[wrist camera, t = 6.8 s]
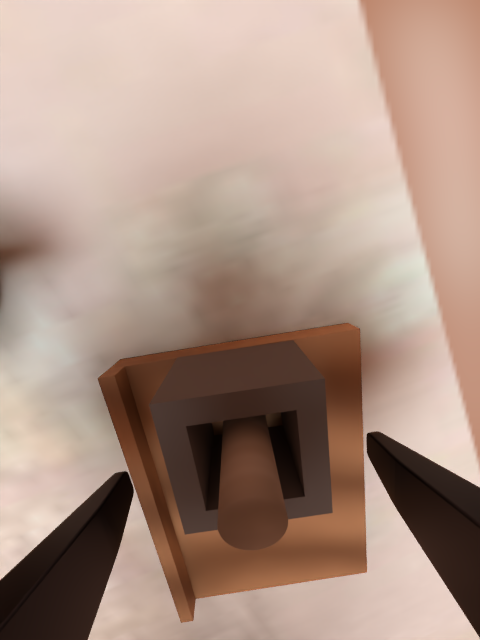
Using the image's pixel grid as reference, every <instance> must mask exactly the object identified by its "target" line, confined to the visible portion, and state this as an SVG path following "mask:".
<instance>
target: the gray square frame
mask: <svg viewBox="0 0 480 640" xmlns="http://www.w3.org/2000/svg"><path fill="white" fill-rule="evenodd" d="M149 407H150V410H151V414H152V418H153V421H154V425H155V428H156V432H157V436H158V439H159V443H160V447H161V450H162V454H163V457H164V461H165V465H166V468H167V472H168V476H169V479H170V483H171V486H172V490H173V494H174V497H175V501H176V504H177V508H178V512H179V515H180V519H181V523H182V526H183V530H184V533H185V535H186V534H193V533H200V532H207V531H213V530H218V527H217V523H218V506H219V489H220V471H221V454H222V437H223V434H220V435H214V432H213V427H212V422H219V421H225V420H232V419H239V418H246V417H252V416H259V415H266V414H273V413H279V412H281V417H282V425H281V426H274V427H268V430H269V435H270V439H271V444H272V448H273V453H274V458H275V462H276V467H277V471H278V476H279V480H280V485H281V489H282V494H283V498H284V503H285V508H286V512H287V517H288V519H295V518H302V517H308V516H315V515H322V514H329V513H333V508H332V491H331V474H330V457H329V440H328V423H327V406H326V389H325V378H324V377H323V376H322V374H321V373H320V372H319V371H318V370H317V368H316V367H315V366H314V365H313V363H312V362H311V361H310V360H309V359H308V357H307V356H306V355H305V354H304V353H303V351H302V350H301V349H300V348H299V346H298V345H297V344H296V343H295V342H294V340H291V341H284V342H277V343H271V344H264V345H257V346H250V347H244V348H237V349H230V350H224V351H217V352H210V353H203V354H197V355H190V356H183V357H177V359H176V360H175V362H174V364H173V365H172V367H171V369H170V370H169V372H168V374H167V375H166V377H165V379H164V380H163V382H162V384H161V385H160V387H159V389H158V390H157V392H156V394H155V395H154V397H153V399H152V400H151V402H150V404H149Z"/></svg>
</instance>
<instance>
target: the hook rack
mask: <svg viewBox="0 0 480 640" xmlns="http://www.w3.org/2000/svg"><path fill="white" fill-rule="evenodd" d="M291 340H294V342H295V343H296V344H297V345H298V346H299V348H300V349H301V350H302V351H303V353H304V354H305V355H306V356H307V357H308V359H309V360H310V361H311V362H312V363H313V365H314V366H315V367H316V368H317V370H318V371H319V372H320V373H321V374H322V376H323V377H324V378H325V389H326V406H327V423H328V440H329V457H330V474H331V491H332V508H333V513H329V514H322V515H315V516H308V517H302V518H295V519H288V517H287V512H286V508H285V503H284V498H283V494H282V489H281V485H280V480H279V476H278V471H277V467H276V462H275V458H274V453H273V448H272V444H271V439H270V435H269V430H268V427H274V426H281V425H282V417H281V412H279V413H273V414H266V415H259V416H252V417H246V418H239V419H232V420H225V421H219V422H212V427H213V432H214V435H220V434H223V437H222V454H221V471H220V489H219V506H218V523H217V527H218V530H213V531H207V532H200V533H193V534H186V535H185V533H184V530H183V526H182V523H181V519H180V515H179V512H178V508H177V504H176V501H175V497H174V494H173V490H172V486H171V483H170V479H169V476H168V472H167V468H166V465H165V461H164V457H163V454H162V450H161V447H160V443H159V439H158V436H157V432H156V428H155V425H154V421H153V418H152V414H151V410H150V407H149V404H150V402H151V400H152V399H153V397H154V395H155V394H156V392H157V390H158V389H159V387H160V385H161V384H162V382H163V380H164V379H165V377H166V375H167V374H168V372H169V370H170V369H171V367H172V365H173V364H174V362H175V360H176V359H177V357H183V356H190V355H197V354H203V353H210V352H217V351H224V350H230V349H237V348H244V347H250V346H257V345H264V344H271V343H277V342H284V341H291ZM98 381H99V384H100V387H101V390H102V393H103V396H104V399H105V401H106V404H107V407H108V410H109V413H110V416H111V419H112V422H113V425H114V428H115V431H116V434H117V437H118V439H119V442H120V445H121V448H122V451H123V454H124V457H125V460H126V463H127V466H128V469H129V472H130V474H131V477H132V480H133V483H134V486H135V489H136V492H137V495H138V498H139V501H140V504H141V507H142V510H143V512H144V515H145V518H146V521H147V524H148V527H149V530H150V533H151V536H152V539H153V542H154V545H155V547H156V550H157V553H158V556H159V559H160V562H161V565H162V568H163V571H164V574H165V577H166V580H167V583H168V585H169V588H170V591H171V594H172V597H173V600H174V603H175V606H176V609H177V612H178V615H179V618H180V621H181V623H182V622H188V621H193V617H194V608H195V599H197V598H204V597H210V596H217V595H223V594H230V593H236V592H243V591H249V590H255V589H262V588H268V587H275V586H281V585H288V584H294V583H301V582H307V581H313V580H320V579H326V578H333V577H339V576H346V575H352V574H359V573H365V572H367V557H366V523H365V488H364V454H363V420H362V385H361V351H360V329H359V328H357V327H355V326H353V325H351V324H349V323H344V324H338V325H332V326H326V327H320V328H313V329H307V330H301V331H295V332H288V333H282V334H276V335H270V336H263V337H257V338H251V339H245V340H239V341H232V342H226V343H220V344H214V345H207V346H201V347H195V348H189V349H182V350H176V351H170V352H164V353H157V354H151V355H145V356H139V357H133V358H126V359H120V360H119V361H118V362H117V363H116V364H114V365H113V366H112V367H111V368H110V369H108V370H107V371H106V372H105V373H104V374H102V375H101V376H100V377H99V378H98Z"/></svg>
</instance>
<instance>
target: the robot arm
mask: <svg viewBox="0 0 480 640" xmlns="http://www.w3.org/2000/svg"><path fill="white" fill-rule="evenodd" d="M367 454H368V457H369V459H370V461H371V463H372V464H373V466H374V468H375V470H376V472H377V474H378V476H379V478H380V479H381V481H382V483H383V485H384V487H385V489H386V491H387V493H388V494H389V496H390V498H391V500H392V502H393V504H394V505H395V507H396V509H397V510H398V512H399V513H400V515H401V516H402V518H403V520H404V521H405V523H406V524H407V526H408V527H409V529H410V530H411V532H412V533H413V535H414V537H415V538H416V540H417V541H418V543H419V544H420V546H421V547H422V549H423V551H424V552H425V554H426V555H427V557H428V558H429V560H430V561H431V563H432V564H433V566H434V568H435V569H436V571H437V572H438V574H439V575H440V577H441V578H442V580H443V581H444V583H445V585H446V586H447V588H448V589H449V591H450V592H451V594H452V595H453V597H454V598H455V600H456V602H457V603H458V605H459V606H460V608H461V609H462V611H463V612H464V614H465V616H466V617H467V619H468V620H469V622H470V623H471V625H472V626H473V628H474V629H475V631H476V633H477V634H478V636H479V637H480V487H478V486H476V485H474V484H472V483H471V482H469V481H467V480H465V479H463V478H462V477H460V476H458V475H456V474H454V473H453V472H451V471H449V470H447V469H445V468H444V467H442V466H440V465H438V464H436V463H435V462H433V461H431V460H429V459H427V458H426V457H424V456H422V455H420V454H419V453H417V452H415V451H413V450H411V449H410V448H408V447H406V446H404V445H402V444H401V443H399V442H397V441H395V440H393V439H392V438H390V437H388V436H386V435H384V434H383V433H381V432H377V431H376V432H370V433H368V434H367ZM133 493H134V490H133V485H132V483H131V480H130V477H129V474H128V472H126V471H124V472H118V473H115V474H114V475H112V476H111V477H110V478H109V479H108V480H107V481H106V482H105V483H104V484H103V485H102V486H101V487H100V488H99V489H97V490H96V491H95V492H94V493H93V494H92V495H91V496H90V497H89V498H88V499H87V500H86V501H85V502H84V503H82V504H81V505H80V506H79V507H78V508H77V509H76V510H75V511H74V512H73V513H72V514H71V515H70V516H69V517H67V518H66V519H65V520H64V521H63V522H62V523H61V524H60V525H59V526H58V527H57V528H56V529H55V530H54V531H53V532H51V533H50V534H49V535H48V536H47V537H46V538H45V539H44V540H43V541H42V542H41V543H40V544H39V545H38V546H36V547H35V548H34V549H33V550H32V551H31V552H30V553H29V554H28V555H27V556H26V557H25V558H24V559H23V560H21V561H20V562H19V563H18V564H17V565H16V566H15V567H14V568H13V569H12V570H11V571H10V572H9V573H8V574H6V575H5V576H4V577H3V578H2V579H1V580H0V640H88V637H89V634H90V631H91V628H92V625H93V623H94V620H95V617H96V614H97V611H98V608H99V605H100V602H101V600H102V597H103V594H104V591H105V588H106V585H107V582H108V579H109V576H110V574H111V571H112V568H113V565H114V562H115V559H116V556H117V553H118V550H119V547H120V543H121V540H122V536H123V532H124V529H125V525H126V521H127V517H128V513H129V510H130V506H131V502H132V498H133Z"/></svg>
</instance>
